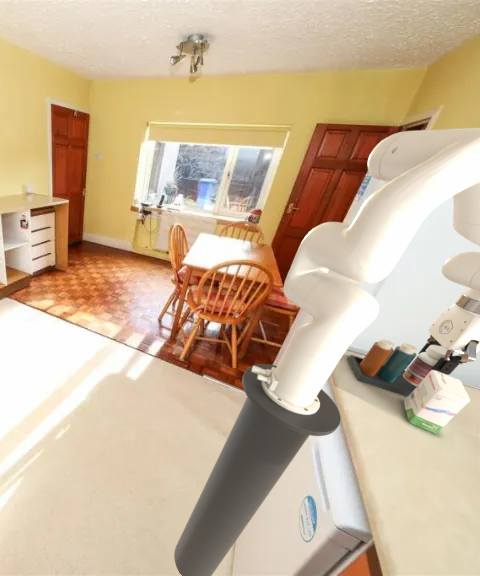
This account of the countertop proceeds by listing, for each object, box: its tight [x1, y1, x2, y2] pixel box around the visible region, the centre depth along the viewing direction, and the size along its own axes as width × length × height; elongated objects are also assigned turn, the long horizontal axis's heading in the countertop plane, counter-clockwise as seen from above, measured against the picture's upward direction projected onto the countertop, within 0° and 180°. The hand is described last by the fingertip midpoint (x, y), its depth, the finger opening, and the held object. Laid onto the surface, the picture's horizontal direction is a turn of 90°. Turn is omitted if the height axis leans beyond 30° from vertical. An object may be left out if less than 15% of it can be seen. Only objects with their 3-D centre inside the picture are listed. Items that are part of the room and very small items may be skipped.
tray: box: [347, 354, 416, 397], centre depth 77 cm, size 19×11×2 cm, turn 62°
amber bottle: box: [359, 338, 395, 376], centre depth 77 cm, size 4×4×11 cm
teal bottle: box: [377, 342, 418, 383], centre depth 76 cm, size 4×4×12 cm
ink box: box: [403, 370, 471, 435], centre depth 64 cm, size 8×5×12 cm, turn 139°
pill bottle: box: [403, 345, 458, 387], centre depth 73 cm, size 6×6×11 cm
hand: (433, 363), depth 72 cm, fingers closed on pill bottle, 6 cm apart
